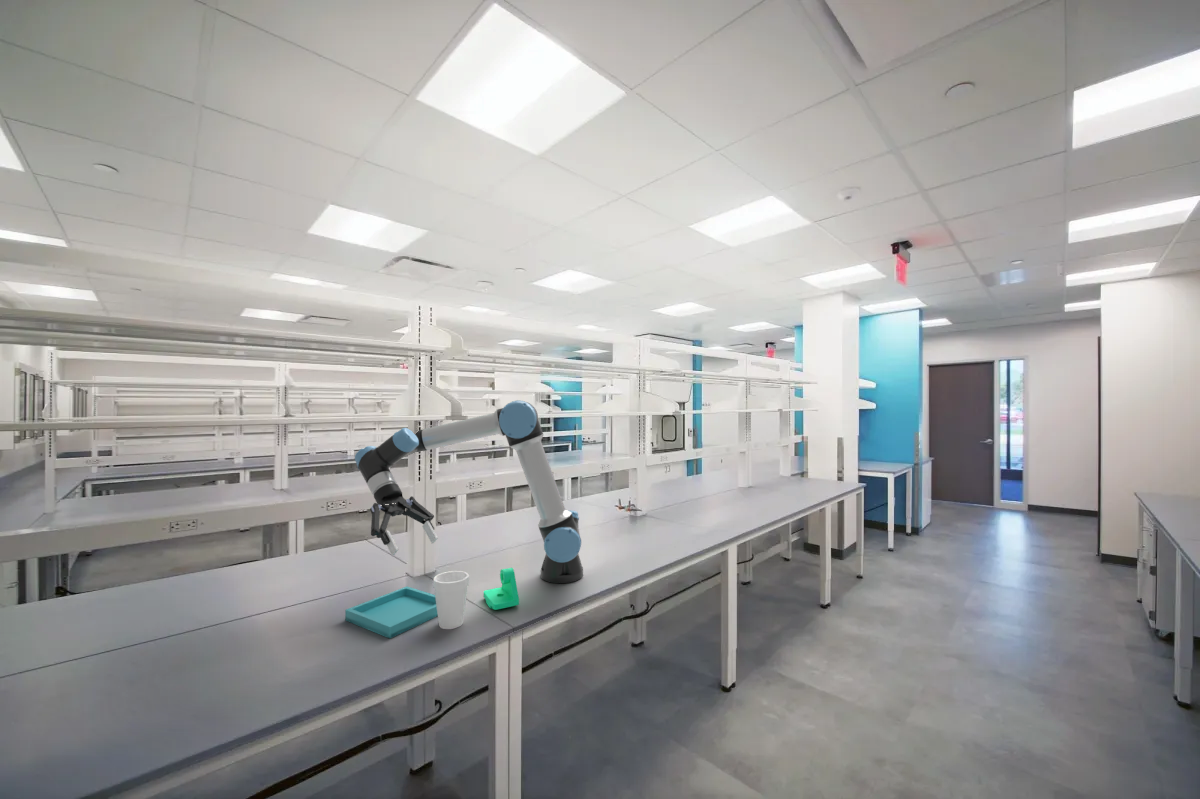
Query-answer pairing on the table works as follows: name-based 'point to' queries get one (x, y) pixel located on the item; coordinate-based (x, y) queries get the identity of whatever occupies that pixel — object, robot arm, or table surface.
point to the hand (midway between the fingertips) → (416, 546)
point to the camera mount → (503, 591)
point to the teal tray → (394, 612)
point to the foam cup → (451, 597)
